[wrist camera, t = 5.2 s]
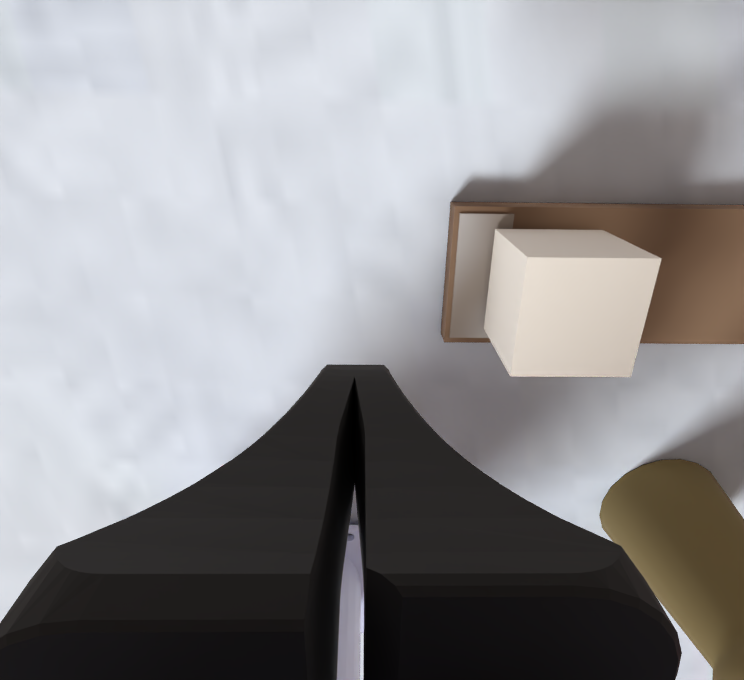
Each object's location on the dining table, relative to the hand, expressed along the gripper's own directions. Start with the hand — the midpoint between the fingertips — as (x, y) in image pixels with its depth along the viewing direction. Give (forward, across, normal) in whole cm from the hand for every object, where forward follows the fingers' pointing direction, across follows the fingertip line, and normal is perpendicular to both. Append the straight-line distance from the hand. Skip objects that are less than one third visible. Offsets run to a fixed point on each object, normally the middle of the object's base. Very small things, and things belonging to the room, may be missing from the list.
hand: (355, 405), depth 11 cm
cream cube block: (+9, -7, 0) cm, 11 cm away
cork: (+10, -16, +12) cm, 23 cm away
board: (+10, -11, 0) cm, 15 cm away
